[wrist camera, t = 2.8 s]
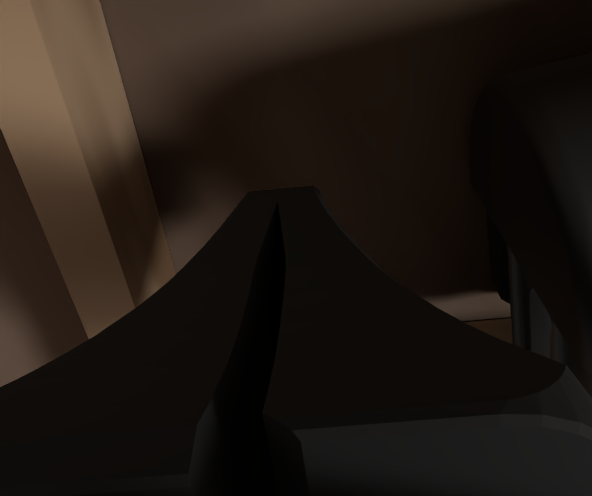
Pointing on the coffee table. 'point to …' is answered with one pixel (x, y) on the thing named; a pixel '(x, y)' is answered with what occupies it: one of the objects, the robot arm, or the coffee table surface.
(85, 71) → the cubby
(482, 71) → the coffee table surface
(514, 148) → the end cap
